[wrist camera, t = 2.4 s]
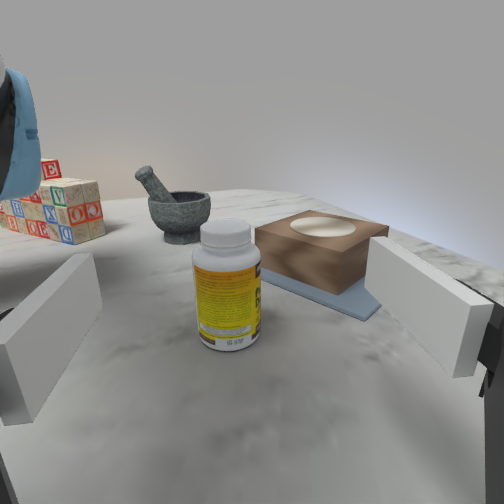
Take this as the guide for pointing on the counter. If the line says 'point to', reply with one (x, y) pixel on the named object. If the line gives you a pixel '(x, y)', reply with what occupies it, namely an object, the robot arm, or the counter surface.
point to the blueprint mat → (330, 295)
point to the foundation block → (318, 249)
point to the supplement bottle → (227, 285)
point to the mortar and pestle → (175, 209)
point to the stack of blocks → (57, 208)
